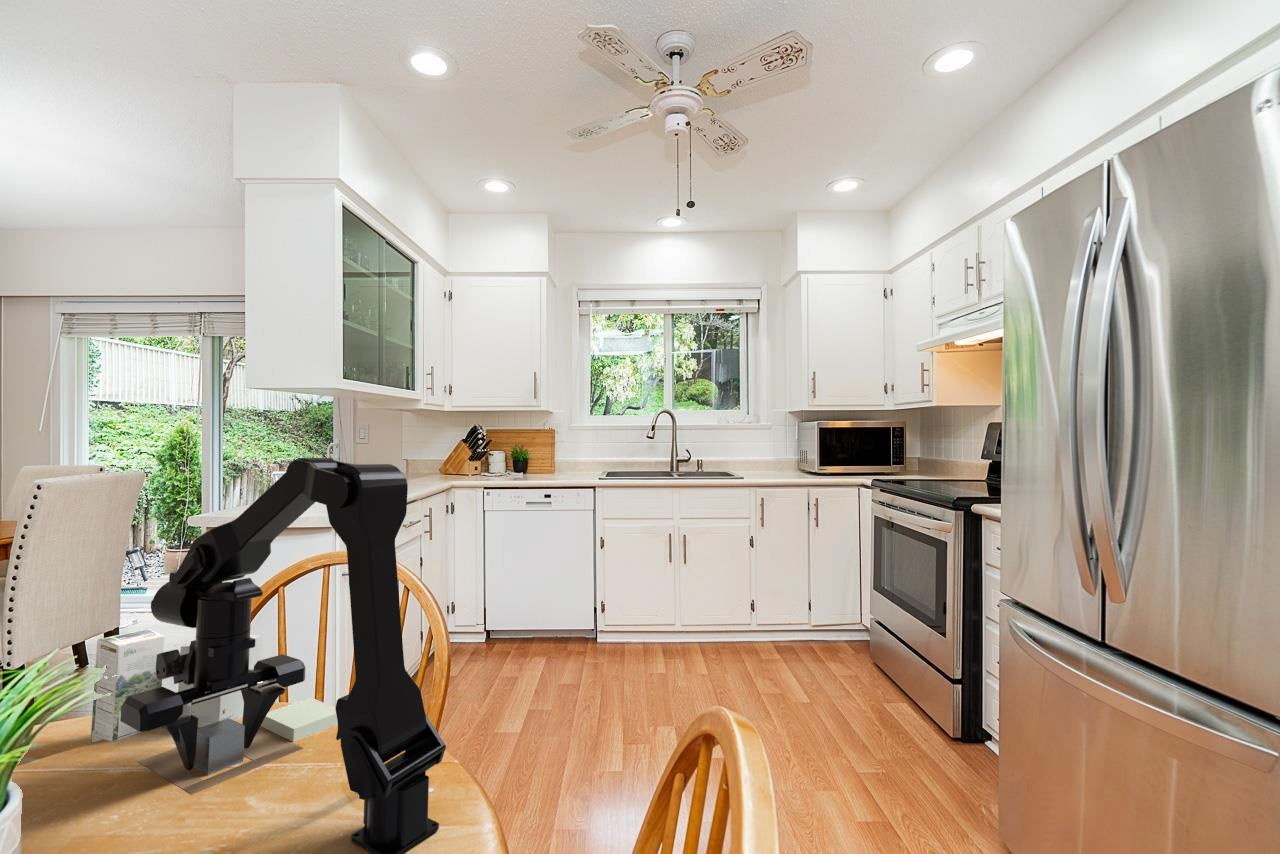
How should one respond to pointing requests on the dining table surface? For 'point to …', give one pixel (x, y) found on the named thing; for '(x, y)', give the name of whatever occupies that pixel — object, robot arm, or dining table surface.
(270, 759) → the walnut board
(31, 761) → the dining table surface
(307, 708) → the sage cover
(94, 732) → the syrup box
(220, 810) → the dining table surface
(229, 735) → the grey block
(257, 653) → the supplement box
